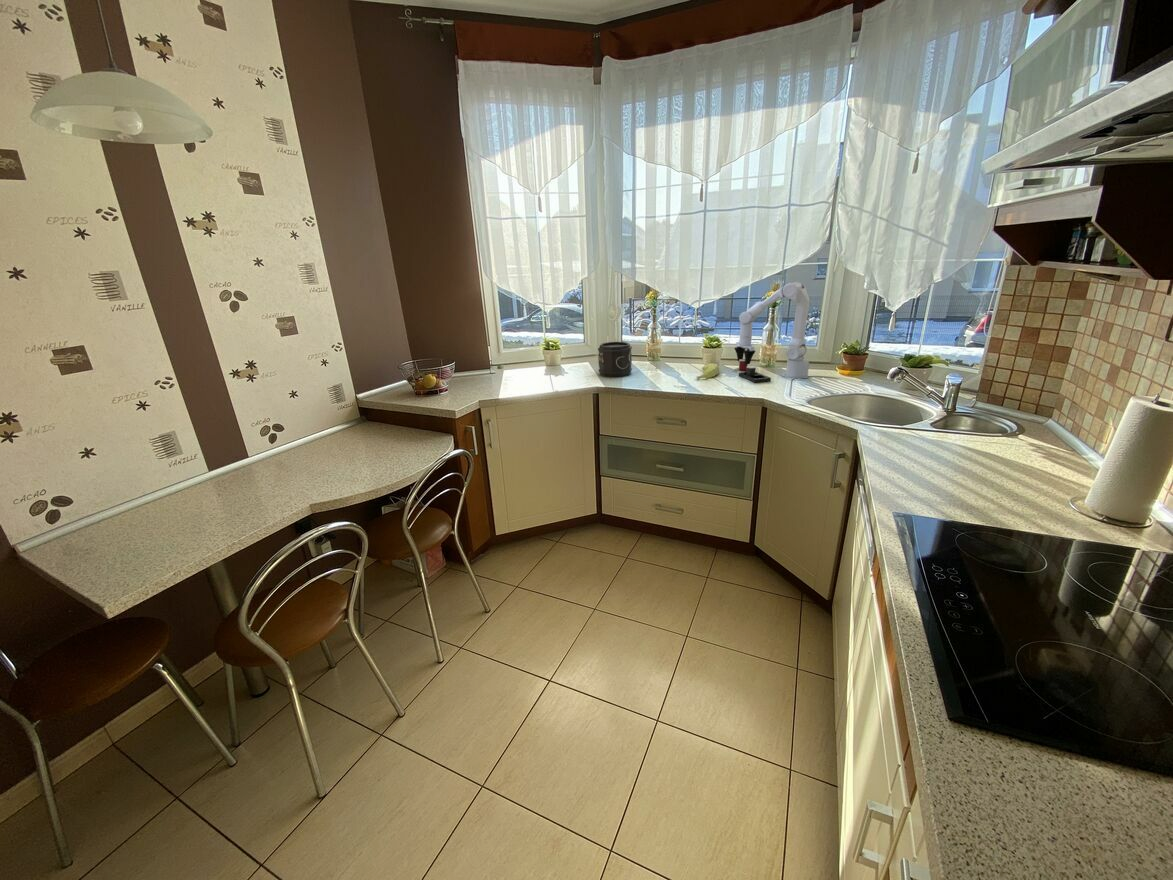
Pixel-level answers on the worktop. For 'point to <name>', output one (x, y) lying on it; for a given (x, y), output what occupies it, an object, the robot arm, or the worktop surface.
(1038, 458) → the worktop surface
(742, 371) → the coaster
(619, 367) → the dark cylindrical canister
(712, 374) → the pale green gourd
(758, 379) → the rack
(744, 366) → the pod
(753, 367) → the pod
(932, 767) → the worktop surface
